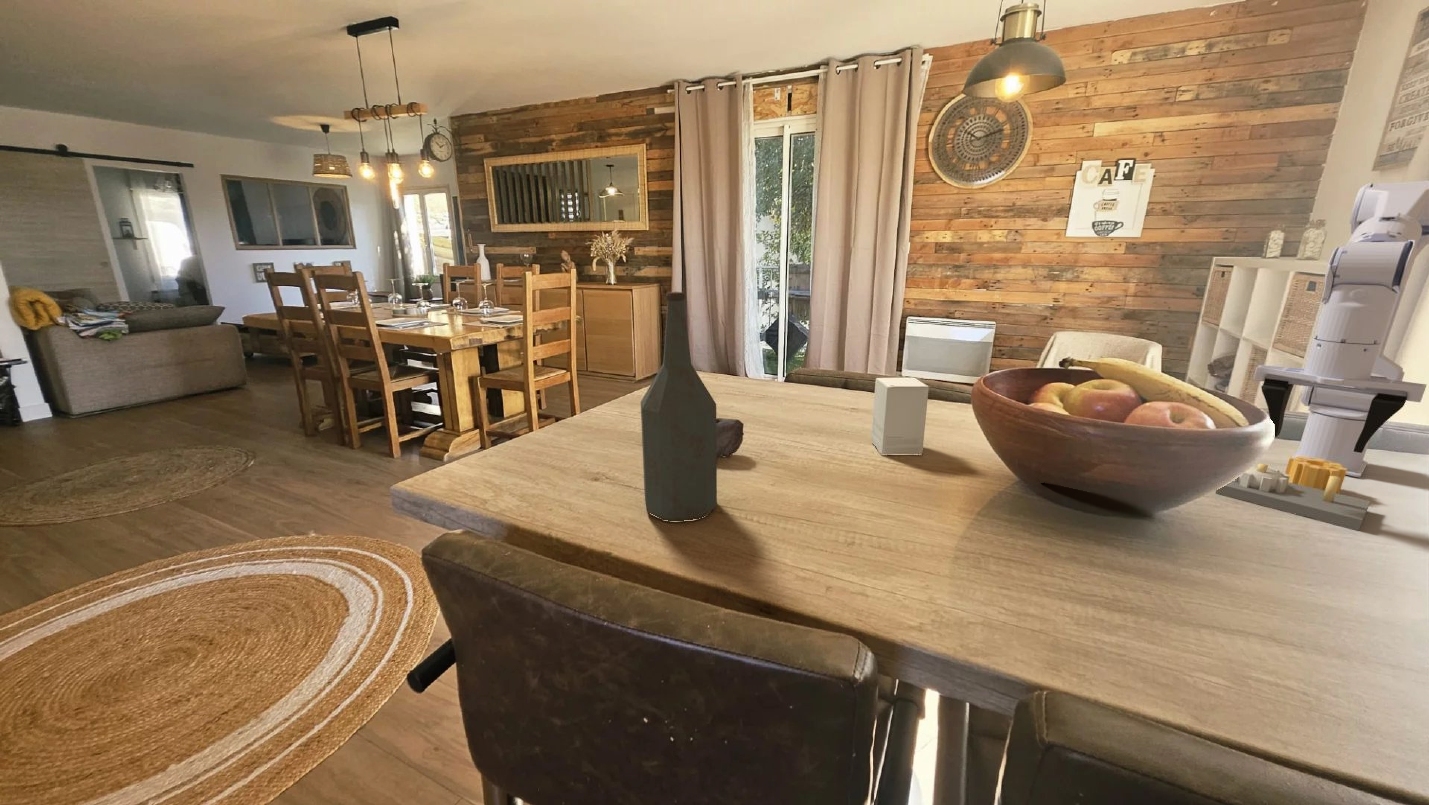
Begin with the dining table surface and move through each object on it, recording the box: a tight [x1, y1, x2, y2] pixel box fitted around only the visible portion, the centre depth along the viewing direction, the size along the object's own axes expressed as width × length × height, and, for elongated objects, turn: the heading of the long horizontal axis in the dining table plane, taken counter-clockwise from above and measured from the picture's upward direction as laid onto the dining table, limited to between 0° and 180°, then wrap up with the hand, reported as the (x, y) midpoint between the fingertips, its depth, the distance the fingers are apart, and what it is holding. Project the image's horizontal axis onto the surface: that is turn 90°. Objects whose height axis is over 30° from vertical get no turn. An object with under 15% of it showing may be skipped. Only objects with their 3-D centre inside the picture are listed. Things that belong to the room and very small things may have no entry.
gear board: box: [1215, 463, 1371, 531], centre depth 77 cm, size 9×14×5 cm, turn 36°
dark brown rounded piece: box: [716, 417, 745, 458], centre depth 96 cm, size 15×5×7 cm, turn 78°
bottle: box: [640, 291, 718, 521], centre depth 73 cm, size 10×10×30 cm
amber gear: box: [1284, 456, 1347, 494], centre depth 82 cm, size 6×6×4 cm
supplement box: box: [870, 377, 930, 455], centre depth 98 cm, size 7×7×13 cm
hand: (1314, 442), depth 73 cm, fingers open, 7 cm apart
